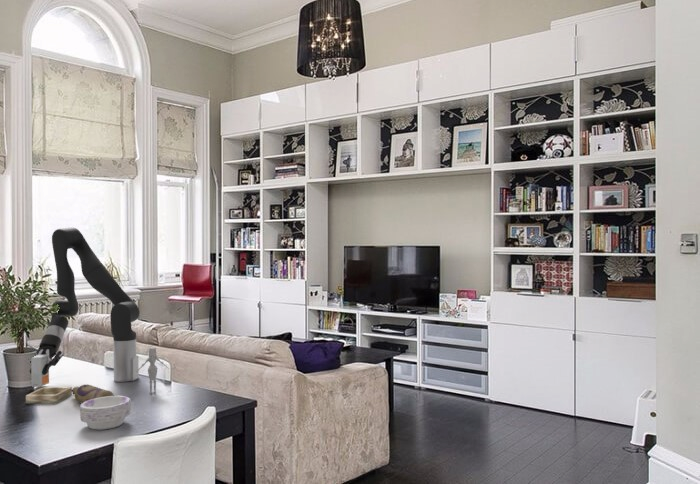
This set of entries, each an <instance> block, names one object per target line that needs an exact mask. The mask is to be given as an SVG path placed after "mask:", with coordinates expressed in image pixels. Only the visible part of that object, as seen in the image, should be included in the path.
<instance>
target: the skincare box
mask: <svg viewBox="0 0 700 484" xmlns="http://www.w3.org/2000/svg"><path fill="white" fill-rule="evenodd" d="M47 356H48V355H36V356H34V357H32V358H31V365H30V369H31V374H30V375H31V380H30V381H31V387H32V388H39V387H40V388H42V387H43V386H46V385H48V384H50V370H49V371H48V373H47V374H46V375H43V374H42V370H43V368H44V366H45V365H46V360H47Z"/></svg>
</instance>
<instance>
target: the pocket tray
mask: <svg viewBox="0 0 700 484" xmlns="http://www.w3.org/2000/svg"><path fill="white" fill-rule="evenodd" d="M72 389H73V387H70V386H68V387H67V386H65V387H63V386H62V387H59V386H57V387H55V386H53V387H47V386H45V387H43V386H42V387H40V388H38V389H36V390H34V391H32V392H30V393H28V394H26V395H25V404H29V405H30V404H32V405H33V404H36V405H37V404H41V405H42V404H58V403H60V402H62V401H64V400H65V399H67V398H70V397H71V396H72V395H73V392H72Z"/></svg>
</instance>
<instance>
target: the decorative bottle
mask: <svg viewBox="0 0 700 484" xmlns="http://www.w3.org/2000/svg"><path fill="white" fill-rule="evenodd" d="M72 395H73V396H74V400H75V401H76V402H78V403H81V404H82V403H83V402H85V401H88V400H91V399H95V398H100V397H106V396H115V393H113V392H112V391H110V390H107V389H104V388H100V387H98V386H95V385H92V384H87V383H86V384H82V385H79V386H74V387H72Z"/></svg>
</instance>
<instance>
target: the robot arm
mask: <svg viewBox="0 0 700 484" xmlns="http://www.w3.org/2000/svg"><path fill="white" fill-rule="evenodd" d="M51 243H52V250H53V256H54V257H53V258H54V262H55V268H56V293H57V295H58V296H60V297H64V298H66V299H57V300H55V301H54V302H53V303H52V306H53V305H54V304H55V303H56V305H57V304H58V305H59V306H58V307H60V309H59V311H58V314H57V313H52V312H51V318H50V322H49V323H50V324H48V326H47V329H46V330H45V331H44V334H43V336H42V338H41V341H40V343H39V346H38V349H37V350H36V351H35V352H36V353H37V355H48V356H47V360H46V365H45V366H44V368H43V370H42V374H43V375H46V374H47V373H48V371H49V372H50V368H51V367H55V366H56V365H57V364H58V363H59V361H60V360H61V359H62V357H63V356H64V353H63V352H62V351H61V350H59V349H60V347H61V344H62V341H63V339H64V336H65V332H66V330H67V327H68V325H69V320H68V318H66V317H75V316H76V315H77V314H78V313H79V310H80V306H79V302H78V299H77V296H76V293H75V287H76V286H75V273H74V270H73V269H72V267H71V265H70V263H69V259H68V249H72V250H73V251H74V253H75V254H76V255H77V256H78V258H79V260H80V267H81V273H82V276H83V277H84V279H85V280H86V281H87V282H88V284H89V285H90V286H91V287H92V288H93V289H94V290H95V291H96V292H98V293H99V294H101V295H102V296H104V297H106V298H107V299H108V300H109V301H110V302H111V303H112V304H113V306H112V307H111V309H110V310H111V311H110V329H111V330H110V331H111V335H112V338H113V339H112V340H113V341H112V342H113V381H114V382H121V383H123V382H133V381H134V382H135V380H137V379H138V378H139V376H140V375H139V371H140V369H139V368H140V367H139V356H138V354H137V332H136V331H134V330H133V328H132V323H134V322H135V321H137V320H138V318H139V317H140V308H139V306H138V304H137V303H136V302H135V301H134V300H133V299H132V298H131V297H130V296H129V295H128V294H127V293H126V292H125V291H124V290H123V288H122V287H121V285H119V283H118V282H117V280H115V278H114V277H113V275H111V273H110V271H109V270H108V269H107V268H106V266H105V265H104V264H103V263H102V261H100V259H99V257H97V255H96V253H95V251H93V249H92V247H90V245H89V243H88V242H87V240H86V238H85V237H84V235H83V234H82V232H81V231H80V230H79V229H78V228H76V227H73V226H72V227H70V226H69V227H63V228H57V229H55V230H54V232H53V233H52V235H51ZM29 352H33V351H31V350H30V351H29ZM37 355H36V356H37ZM30 363H31V361H30ZM138 369H139V371H138ZM137 371H138V372H137ZM29 374H30V375H31V368H30V369H29Z"/></svg>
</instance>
